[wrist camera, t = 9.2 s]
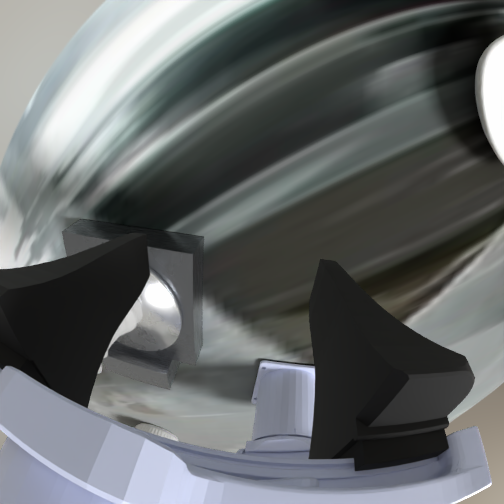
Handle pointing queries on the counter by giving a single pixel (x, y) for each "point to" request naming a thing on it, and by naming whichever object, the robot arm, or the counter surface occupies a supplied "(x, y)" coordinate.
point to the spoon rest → (492, 95)
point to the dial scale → (155, 302)
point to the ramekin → (156, 431)
